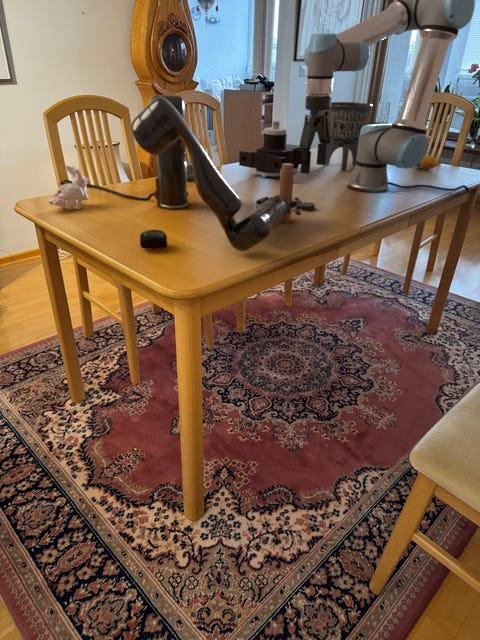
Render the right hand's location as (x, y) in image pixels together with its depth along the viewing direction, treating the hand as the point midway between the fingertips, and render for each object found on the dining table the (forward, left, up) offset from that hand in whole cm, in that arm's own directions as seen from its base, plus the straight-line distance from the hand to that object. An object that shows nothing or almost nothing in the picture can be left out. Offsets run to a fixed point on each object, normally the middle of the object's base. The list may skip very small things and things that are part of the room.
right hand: (313, 168), depth 145 cm
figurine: (+77, +10, -13) cm, 79 cm away
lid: (+1, 0, -12) cm, 12 cm away
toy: (-58, -74, -13) cm, 95 cm away
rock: (+44, -35, -13) cm, 58 cm away
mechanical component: (+9, -52, -13) cm, 54 cm away
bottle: (+9, +15, -13) cm, 21 cm away
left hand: (+8, +12, -7) cm, 16 cm away
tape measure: (+42, +42, -13) cm, 61 cm away
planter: (-19, -70, -13) cm, 73 cm away
